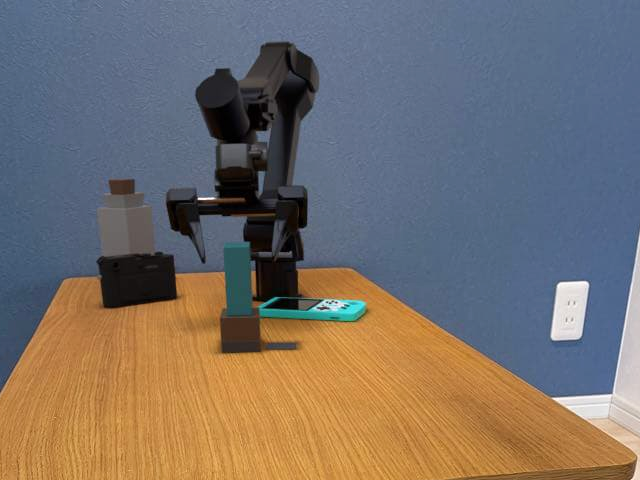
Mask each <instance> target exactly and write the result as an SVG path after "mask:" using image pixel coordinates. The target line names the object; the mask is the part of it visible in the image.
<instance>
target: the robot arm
mask: <svg viewBox="0 0 640 480" xmlns="http://www.w3.org/2000/svg"><path fill="white" fill-rule="evenodd" d="M319 89H320V74H319V70H318V68H317V65H316V63H315V60H314V58H313V57H311V56H310V55H308V54H305V53H304V52H302V51H300V50H299V49H298V48H297V46H296V44H295V43H294V42H290V41H289V40H282V41H266V42H265V43H262V44H261V46H260V49H259V55H258V56H257V57H256V59H255V61H254V63H253V64H252V65H251V67H250V69H249V70H248V72H247V73H246V75H245V77H243V78H242V79H239V80H237V79H236V77H234V76H233V72H232V70H231V68H230V67H223V68H222V67H221V68H215V70H214V74H213V75H210V76H208V77H207V78H205V79H203V81H201V83H200V84H199V85H198V86H197V87H196V88H195V91H194V92H195V93H194V96H195V100H196V103H197V105H198V108H199V111H200V113H201V116H202V118H203V121H204V123H205V126H206V128H207V131H208V133H209V136H210V137H211V138H213V139H216V145H215V147H214V150H215V153H214V154H215V168H214V173H213V175H214V178H213V179H214V180H213V181H214V192H215V193H216V197H215V196H214V197H198V193H197V187H172V188H169V189H168V191H167V192H166V193H165V206H166V211H167V215H168V222H169V226H170V229H171V230H172V231H173V232H176V233H180V235H181V236H184V237H188V238H189V239H190V241H191V243H192V244H193V246H194V248H195V249H196V252H197V254H198V257H199V259H200V262H201V264H203V265H205V264H206V261H207V260H206V249H205V242H204V237H203V230H202V225H201V216H221V217H222V218H223V217H232V218H237V217H238V218H243V217H246V218H245V219H246V220H245V222H244V224H243V228H242V237H243V242H250V256H251V262H254V269H255V271H254V272H255V294H252V300H256V301H257V300H258V301H266V302H267V301H269V300H271V299H273V298H275V297H286V298H303V293H301V292H299V270H298V269H297V263H298V262H303V261H305V244H304V241H303V238H302V232H301V230H303V229H305V228H306V227H308V209H309V208H308V206H309V205H308V203H309V197H308V196H309V195H308V189H307V188H306V187H305V186H304V184H303V185H302V184H299V185H297V184H296V185H293V182H294V175H295V168H296V160H297V154H298V145H299V139H300V131H301V130H300V129H301V123H302V121H303V120H304V118H306V116H307V115H308V114H309V113H310V112H311V110H312V109H313V107H314V103H315V99H316V94H317V93H319ZM269 130H270V133H269V140H268V141H259V136H258V134H257V132H268V131H269ZM260 172H264V175H263V183H262V189H261V193H260V177H259V173H260ZM300 229H301V230H300ZM290 252H291V253H290Z"/></svg>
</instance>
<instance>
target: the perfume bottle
mask: <svg viewBox="0 0 640 480" xmlns="http://www.w3.org/2000/svg"><path fill="white" fill-rule="evenodd" d="M135 181H136V180H135V178H117V179H115V178H114V179H108V186H109V191H110V192H109V193H101V194H100V196H101V198H102V201H103V203H104V206H102V207H96V214H97V221H98V230H99V239H100V246H101V247H100V248H101V256H105V257H107V256H116V255H125V254H134V253H138V254H140V255H141V254H144V253H150V254H151V255H154V253H155V252H156V244H155V232H154V220H153V209H152V205H144V198H145V192H141V191H140V192H138V191H136V182H135Z"/></svg>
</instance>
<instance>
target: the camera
mask: <svg viewBox="0 0 640 480" xmlns="http://www.w3.org/2000/svg"><path fill="white" fill-rule="evenodd" d="M95 263H96V265H97V266H98V272H99V274H98V275H97V276H96V278H97V280H99V282H100V291H101V300H102V305H103V307H104V308H107V309H115V308H123V307H129V306H137V305H143V304H151V303H158V302H164V301H165V302H166V301H172V300H176V299H177V297H178V292H177V291H178V289H177V276H176V271H177V270H178V267H177V266H175V255H174V254H171V253H164V252H163V251H155V253H154V255H151V254H150V253H144V254H141V255H140V254H138V253H134V254H125V255H116V256H107V257H105V256H102V255H101V256H99V257H98V259H96V261H95Z"/></svg>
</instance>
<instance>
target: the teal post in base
mask: <svg viewBox="0 0 640 480" xmlns="http://www.w3.org/2000/svg"><path fill="white" fill-rule="evenodd" d="M222 248H223V249H222V250H223V263H224V264H223V265H224V267H223V268H224V283H225V302H226V308H225V307H222V309H221V312H220V316H219V327H220V344H221V345H220V346H221V353H223V354H224V353H225V354H226V353H258V352H259V353H260V352H261V346H262V344H261V343H262V337H261V335H262V333H261V332H262V331H261V317H260V308H259V307H258V306H257V307H258V308H257V307H253V305H254V304H253V299H252V295H253V285H252V284H253V283H252V282H253V281H252V261H251V256H250V242H244V241H227V242H224V245H223V247H222Z"/></svg>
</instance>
